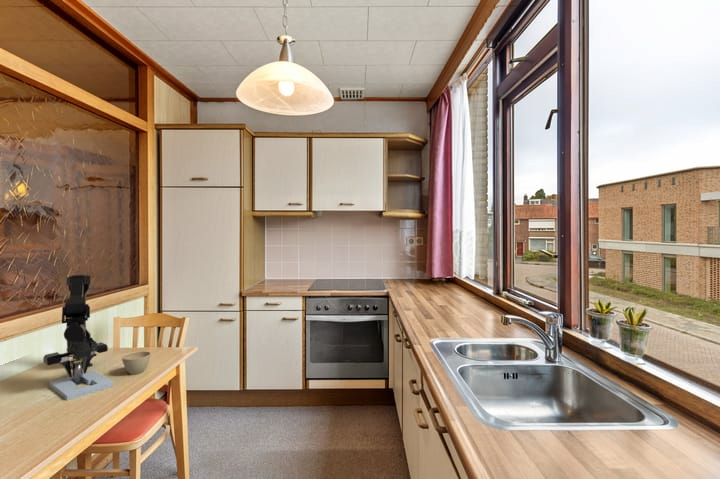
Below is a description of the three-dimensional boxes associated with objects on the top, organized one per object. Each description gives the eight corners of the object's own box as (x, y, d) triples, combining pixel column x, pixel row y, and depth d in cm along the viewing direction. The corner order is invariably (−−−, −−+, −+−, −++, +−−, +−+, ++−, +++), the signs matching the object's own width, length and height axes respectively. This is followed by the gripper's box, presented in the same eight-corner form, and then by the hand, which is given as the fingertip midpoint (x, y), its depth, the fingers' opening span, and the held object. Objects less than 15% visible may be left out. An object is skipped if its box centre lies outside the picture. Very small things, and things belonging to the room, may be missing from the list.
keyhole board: (49, 386, 135) (49, 381, 135) (93, 373, 146) (93, 369, 146) (67, 400, 123) (67, 395, 123) (113, 385, 135) (113, 381, 135)
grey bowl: (137, 377, 142) (137, 360, 142) (116, 376, 144) (115, 358, 144) (156, 368, 152) (156, 351, 151) (136, 366, 154) (136, 350, 153)
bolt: (69, 384, 137) (69, 359, 136) (82, 380, 140) (81, 356, 140) (73, 386, 134) (72, 361, 134) (86, 382, 138) (85, 358, 137)
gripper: (51, 345, 124) (52, 389, 125) (112, 332, 140) (113, 371, 140) (42, 339, 131) (43, 381, 131) (101, 328, 146) (102, 365, 147)
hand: (77, 375), depth 137 cm, fingers open, 4 cm apart
